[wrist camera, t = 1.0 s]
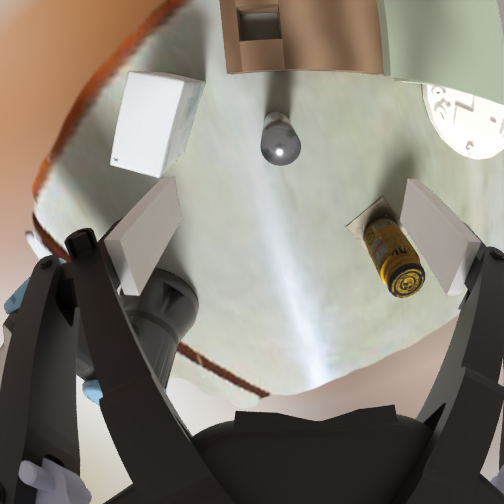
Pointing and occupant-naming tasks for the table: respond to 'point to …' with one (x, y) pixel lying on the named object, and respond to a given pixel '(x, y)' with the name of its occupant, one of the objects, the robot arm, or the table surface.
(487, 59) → the pale green angled bracket
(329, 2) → the socket block
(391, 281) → the condiment
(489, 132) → the white round plaque
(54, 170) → the table surface
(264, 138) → the peg
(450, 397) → the robot arm
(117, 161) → the skincare box
